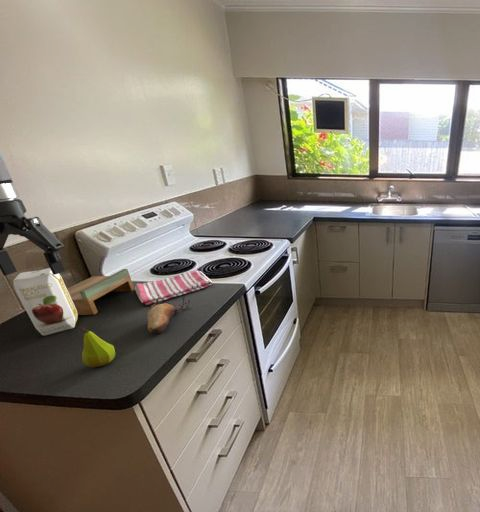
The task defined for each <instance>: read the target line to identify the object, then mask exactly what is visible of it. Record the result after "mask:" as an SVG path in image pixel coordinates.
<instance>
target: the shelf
mask: <svg viewBox="0 0 480 512" xmlns="http://www.w3.org/2000/svg"><path fill="white" fill-rule="evenodd" d="M134 286H135V285H134V284H133V280H132V278H131V276H130V272H129V269H128V268H123V269H122V268H121V270H119V271H116V272H115V273H113V274H111V275H104V276H103V275H100V276H99V275H95V276H90V277H89V278H86V279H84V280H82V281H80V282H78V283H76V284H74V285H72V286H70V287H68V288H67V290H68V293H69V295H70V297H71V299H72V301H73V304H74V306H75V308H76V310H77V313H78V316H94V315H96V314H98V313H99V310H98V309H97V307H96V305H95V300H97V299H99V298H101V297H103V296H105V295H106V294H108V293H110V292H133V291H135V288H134Z"/></svg>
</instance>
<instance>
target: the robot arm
mask: <svg viewBox="0 0 480 512" xmlns="http://www.w3.org/2000/svg"><path fill="white" fill-rule="evenodd" d="M19 197H20V194H19V193H18V190H17V187H16V186H15V184H14V182H13V180H12V177H11V174H10V173H9V170H8V168H7V165H6V163H5V162H4V159H3V156H2V153H0V271H1V274H2V276H9V275H11V274H14V273H17V272H18V270H17V268H16V266H15V264H14V262H13V261H12V258H11V257H10V255H9V253H8V251H7V250H6V248H5V245H6V243H7V240H8V238H9V236H11V235H13V236H20V237H24V238H25V239H27V241H30V242H31V243H32V244H34V245H36V247H38V248H40V249H41V250H42V251H44V252H43V256H44V258H45V261H46V262H47V265H48V268H50V269H51V271H52V273H53V275H56V274H58V273H59V274H60V273H63V272H65V271H66V269H65V267H64V264H63V263H62V261H63V258H62V257H61V254H60V252H59V250H62V249H64V248H65V244H63V242H62V241H60V240H59V239H58V238H57V236H56V235H54V233H52V232H51V231H50V229H49V228H47V226H45V225H44V223H43V222H42V220H41V218H40V217H39V216H34V217H33V216H32V217H29V218H27V217H26V215H25V213H27V208H26V206H25V204H24V202H23V200H22V199H20V198H19Z"/></svg>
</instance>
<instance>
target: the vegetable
mask: <svg viewBox="0 0 480 512" xmlns="http://www.w3.org/2000/svg"><path fill="white" fill-rule="evenodd" d="M157 296H159V295H157ZM185 298H186V296H183V297H182V298H181V300H182V305H181V304H179V305H178V306H179V307H177V306H173V304H171V303H170V302H167V301H166V302H164V303H162V302H163V301H160V302H158V299H159V297H158V299H157V302H156V303H153V304H151V305H150V309H149V310H148V312H147V314H146V317H147V318H146V320H147V330H148V332H150V333H151V334H154V335H160V334H162V333H164V332H165V331H166V329H167V328H168V325H169V322H170V320H171V319H172V317H174V316H175V315H176V314H177V312H178V311H185V310H186V309H187V308H188V307H189V305H190V303H191V300H187V301H188V303H187V302H185ZM162 300H163V299H162ZM157 303H158V304H157ZM184 305H185V308H184Z"/></svg>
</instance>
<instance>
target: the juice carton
mask: <svg viewBox="0 0 480 512" xmlns="http://www.w3.org/2000/svg"><path fill="white" fill-rule="evenodd" d="M12 280H13V288H14V290H15V293H16V295H17V296H18V298H19V300H20V302H21V304H22V305H23V308H24V309H25V311H26V313H27V315H28V317H29V319H30V321H31V323H32V324H33V326H34V328H35V330H36V331H38V333H40V335H41V336H44V337H45V336H48V335H53V334H56V333H60V332H63V331H68V330H72V329H74V328H75V327H76V324H77V321H78V318H79V315H78V313H77V310H76V308H75V306H74V304H73V301H72V299H71V297H70V295H69V293H68V290H67V289H68V288H67V287H66V284H65V282H64V279H63V277H62V275H61V274H60V273H58V274H56V275H53V273H52V271H51V269H50V267H47V268H43V269H41V270H33V271H23V272H19V274H18V275H16V277H15V278H14V279H12Z"/></svg>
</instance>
